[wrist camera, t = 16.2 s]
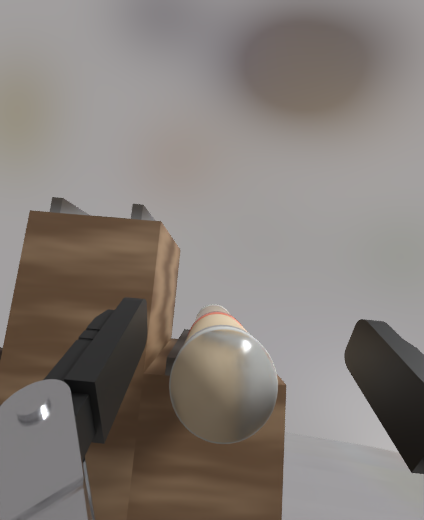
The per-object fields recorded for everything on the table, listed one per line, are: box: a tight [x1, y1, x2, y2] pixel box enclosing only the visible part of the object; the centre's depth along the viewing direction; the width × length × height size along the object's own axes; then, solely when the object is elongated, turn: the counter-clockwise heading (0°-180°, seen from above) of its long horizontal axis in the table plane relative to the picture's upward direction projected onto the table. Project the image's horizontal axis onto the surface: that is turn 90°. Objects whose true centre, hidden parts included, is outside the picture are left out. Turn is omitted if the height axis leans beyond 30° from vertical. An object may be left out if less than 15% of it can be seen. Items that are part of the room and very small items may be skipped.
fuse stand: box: [0, 197, 286, 520], centre depth 21 cm, size 12×20×33 cm, turn 91°
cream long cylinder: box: [169, 304, 278, 444], centre depth 19 cm, size 20×4×4 cm, turn 1°
